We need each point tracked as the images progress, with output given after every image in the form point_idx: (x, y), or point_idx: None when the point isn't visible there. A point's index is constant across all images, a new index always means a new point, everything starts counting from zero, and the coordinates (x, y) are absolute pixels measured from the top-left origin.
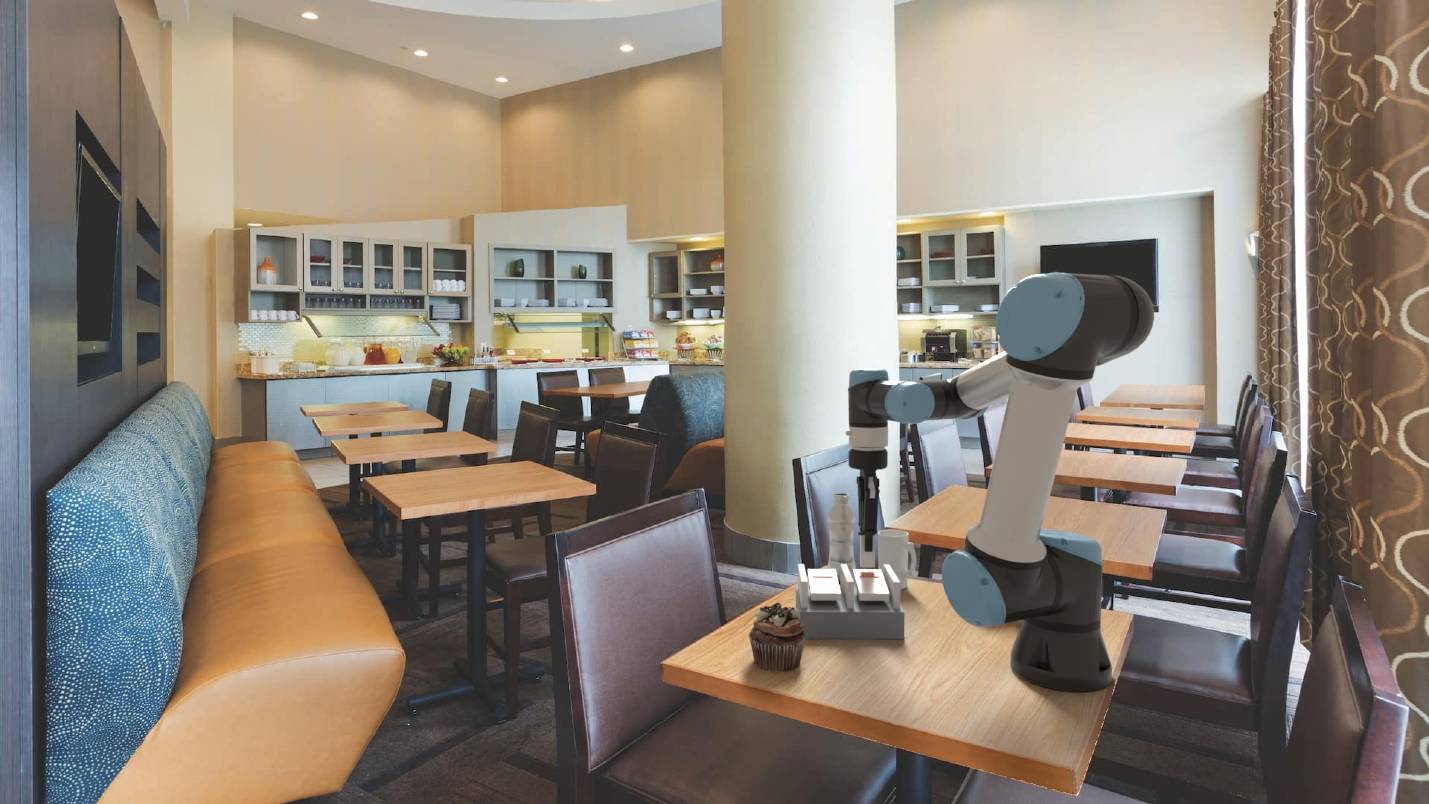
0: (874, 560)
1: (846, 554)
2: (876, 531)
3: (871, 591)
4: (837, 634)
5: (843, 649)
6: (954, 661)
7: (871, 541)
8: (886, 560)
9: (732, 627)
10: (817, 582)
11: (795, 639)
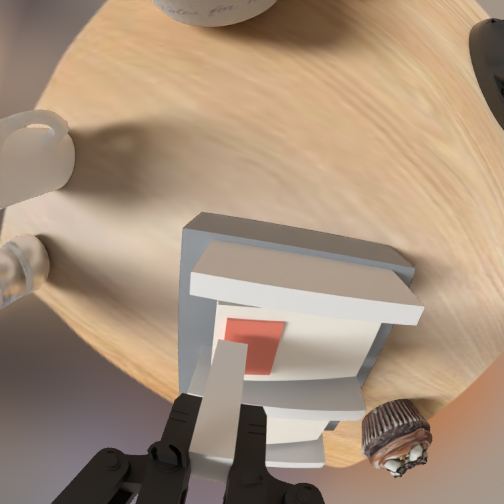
0: (245, 364)
1: (10, 277)
2: (321, 498)
3: (358, 352)
4: None
5: (390, 354)
6: (481, 201)
7: (265, 450)
8: (24, 189)
9: None
10: (276, 436)
11: (429, 429)
